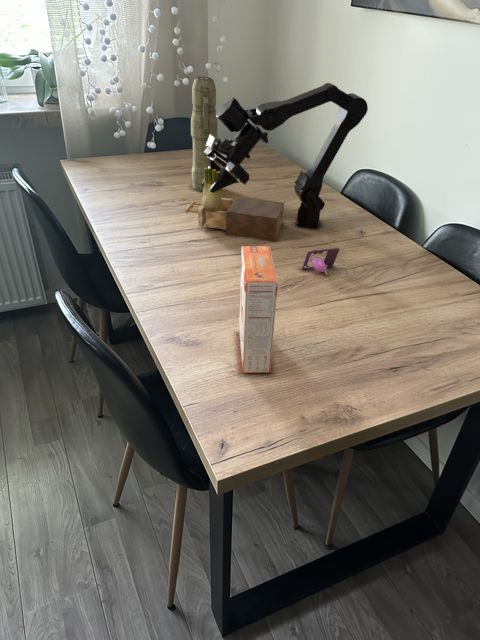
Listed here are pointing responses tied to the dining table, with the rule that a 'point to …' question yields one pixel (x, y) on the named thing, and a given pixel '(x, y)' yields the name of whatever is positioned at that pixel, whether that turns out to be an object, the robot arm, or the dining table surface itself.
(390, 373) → the dining table surface
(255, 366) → the cracker box
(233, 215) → the cabinet
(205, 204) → the fennel bulb
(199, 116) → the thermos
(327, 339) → the dining table surface
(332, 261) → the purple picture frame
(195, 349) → the dining table surface
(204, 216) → the drawer
